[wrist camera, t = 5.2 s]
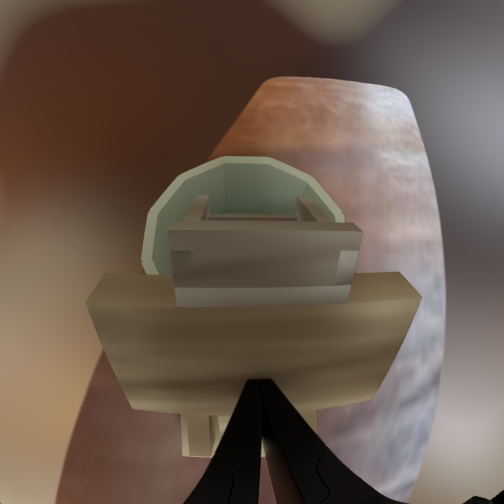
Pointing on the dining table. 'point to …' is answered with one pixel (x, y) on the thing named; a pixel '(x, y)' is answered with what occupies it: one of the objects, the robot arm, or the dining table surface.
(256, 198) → the pale green bowl
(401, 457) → the dining table surface
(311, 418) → the stand
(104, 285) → the catapult arm
